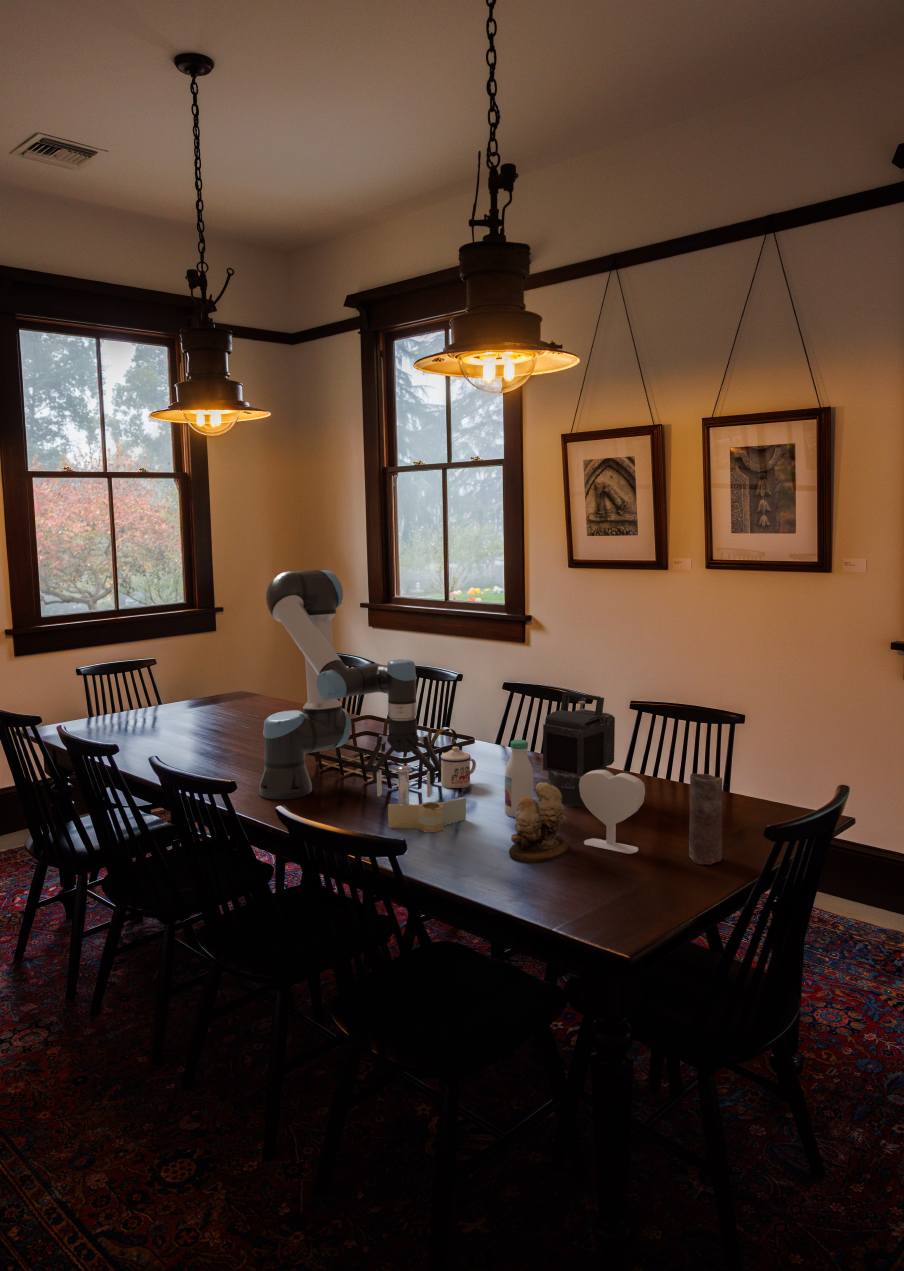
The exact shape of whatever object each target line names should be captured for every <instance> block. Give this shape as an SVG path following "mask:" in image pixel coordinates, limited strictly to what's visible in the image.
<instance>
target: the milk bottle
mask: <svg viewBox="0 0 904 1271" xmlns="http://www.w3.org/2000/svg"><path fill="white" fill-rule="evenodd" d="M528 747H529V741H527V740H525V739H513V740H511V741H510V750H511V751H510V752H511V753H510V757H509V760H507V761H508V762H507V764H506V766H505V772H504V813H505V815H506V816H509V817H512V818H516V813H517V808H518V805H519V803H520V799H521V798H523V797H529V798H532V799H533V800H534V798H535V797H534V792H535V791H534V784H535V783H534V780H535V779H534V769H533V765H532V762H531V761H530V758H529V756H528V750H529V748H528Z"/></svg>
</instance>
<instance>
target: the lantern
mask: <svg viewBox="0 0 904 1271" xmlns="http://www.w3.org/2000/svg"><path fill="white" fill-rule="evenodd" d="M561 696H562V697H561V703H560V704H561V705H560V709H559V710H556V711H552V712H550V713H548V715H547V716H546V717H545V718H544V721H545V723H543V725H542V726H543V727H542V770H543V771H545V772H547V782H549V783H548V784H550V785H552V786H555V787H557V788H558V789H559V791H560V793H561V794H562V802H561V803H562V804H563V806H568V807H586V806H585V804H584V802H583V800H582V798H581V796H580V790H579V782H580V777H582V776H583V775H585V774H586V773H588V772H590V771H595V770H607V767H609V766H611V765H613V764H614V762H615V742H616V741H615V739H616V738H615V737H616V736H615V734H616V732H615V728H616V724H615V723H616V717H615V716H614V715H613V714H611V713H608V712H604V703H605V697H601V696H600V695H591V694H585V693H580V692H579V693H578V692H570V691H562V695H561ZM570 697H571V698H579V699H585V700H591V701H596V702H595V709H594V710H590V709H585V708H583V707H584V705H586V701H583V700H580V701H578V705H580V708H578V710H574V711H571V710H569V705H570V704H569V703H570Z"/></svg>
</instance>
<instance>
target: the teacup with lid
mask: <svg viewBox="0 0 904 1271" xmlns="http://www.w3.org/2000/svg"><path fill="white" fill-rule="evenodd" d="M440 763H441V765H442V767H441V769H440V771H441V773H440V774H441V777H440V779H441V782H440V783H441V786H442V787H444V788H446V789H450V788H461V789H465V787H466V788H468V787H469V786H470V785H471V775H472V774H473V773H474V772H475V770H476V768H477V766H476V765H477V762H476V760H475V759H474V758H472V757H471V755H470V754H469V753H468V752H464V751H463V750H461V749H460V748H459V746H452V748H451V749H450V750H448V751H447V752H443V753H442V754H441V755H440ZM471 763H472V765H471Z"/></svg>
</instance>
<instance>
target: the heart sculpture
mask: <svg viewBox="0 0 904 1271" xmlns="http://www.w3.org/2000/svg"><path fill="white" fill-rule="evenodd" d="M579 790H580V796H581V798H582V800H583V802H584V804H585V806H584V807H586V808H587V809H588V811H589V812H590V813H591V814H592V815H593V816H595V817H596V819H598V820H599V821H600V822H601V823H603V824H604V826H606V828H605V829H606V830H605V831H606V836H605V837H606V838H605V840H604V839H600V838H593V837H591V838H589V839H585V840H584V841H583V843H584V844H583V845H585V846H591V847H595V848H600V849H605V850H609V851H610V850H611V851H614V852H619V853H623V854H628V855H629V854H630V855H631V854H634V853H635V854H636V853H637V852H638V851H639V847H637V846H634V845H628V844H625V843H619V842H616V838H617V837H616V826H617V825H616V824H619V823H621V822H623V821H625V820H626V819H628V818H629V817H631V816H632V815H634V814H635V813H636V812H638V811H639V809H640V808H641V806H642V805H643V803H645V802H644V800H645V795H646V787H645V783H644V782H643V781H642V780H641V779H640V778H638V777H637V776H634V775H633V774H630V773H626V772H620V773H618V774H616V775H615V774H613V773H612V772H610V771H609V770H607V769H605V770H595V771H590V772H588V773H586V774H585V775H583V776H582V777H580V782H579Z"/></svg>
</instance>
